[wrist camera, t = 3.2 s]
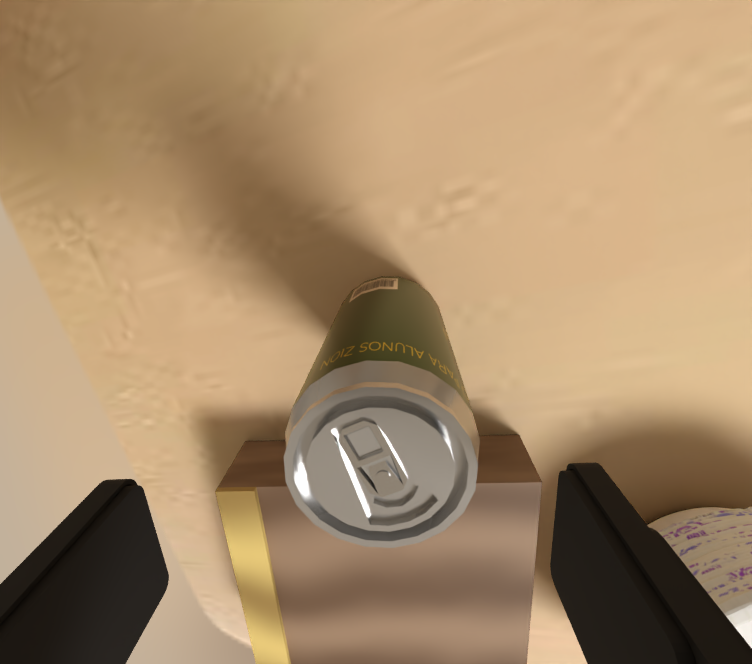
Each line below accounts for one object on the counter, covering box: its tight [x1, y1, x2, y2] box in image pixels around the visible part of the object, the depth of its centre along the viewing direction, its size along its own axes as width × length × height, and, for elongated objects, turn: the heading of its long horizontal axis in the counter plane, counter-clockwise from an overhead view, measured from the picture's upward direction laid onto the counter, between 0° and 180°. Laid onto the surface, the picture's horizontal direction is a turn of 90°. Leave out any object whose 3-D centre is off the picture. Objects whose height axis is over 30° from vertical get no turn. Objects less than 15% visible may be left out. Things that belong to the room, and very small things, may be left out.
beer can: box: [284, 276, 480, 548], centre depth 16 cm, size 5×5×12 cm
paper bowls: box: [647, 507, 752, 648], centre depth 22 cm, size 15×15×8 cm
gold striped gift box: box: [215, 435, 542, 664], centre depth 24 cm, size 14×16×4 cm
